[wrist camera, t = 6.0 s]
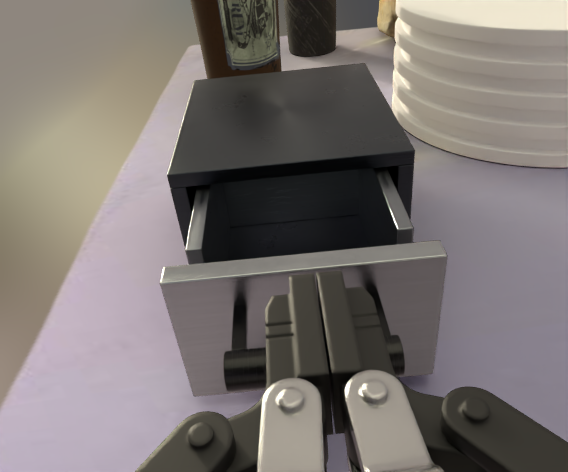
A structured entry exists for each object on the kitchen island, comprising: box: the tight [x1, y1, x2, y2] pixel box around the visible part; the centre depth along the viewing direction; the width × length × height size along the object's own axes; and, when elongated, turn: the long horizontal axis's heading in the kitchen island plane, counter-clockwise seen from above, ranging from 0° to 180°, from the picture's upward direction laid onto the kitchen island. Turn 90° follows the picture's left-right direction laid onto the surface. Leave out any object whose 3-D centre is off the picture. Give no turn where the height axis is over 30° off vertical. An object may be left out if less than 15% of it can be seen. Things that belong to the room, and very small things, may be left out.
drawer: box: [160, 167, 447, 397], centre depth 29 cm, size 19×13×8 cm, turn 3°
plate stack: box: [392, 0, 568, 168], centre depth 52 cm, size 28×28×12 cm
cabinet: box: [167, 63, 415, 249], centre depth 38 cm, size 16×14×10 cm
